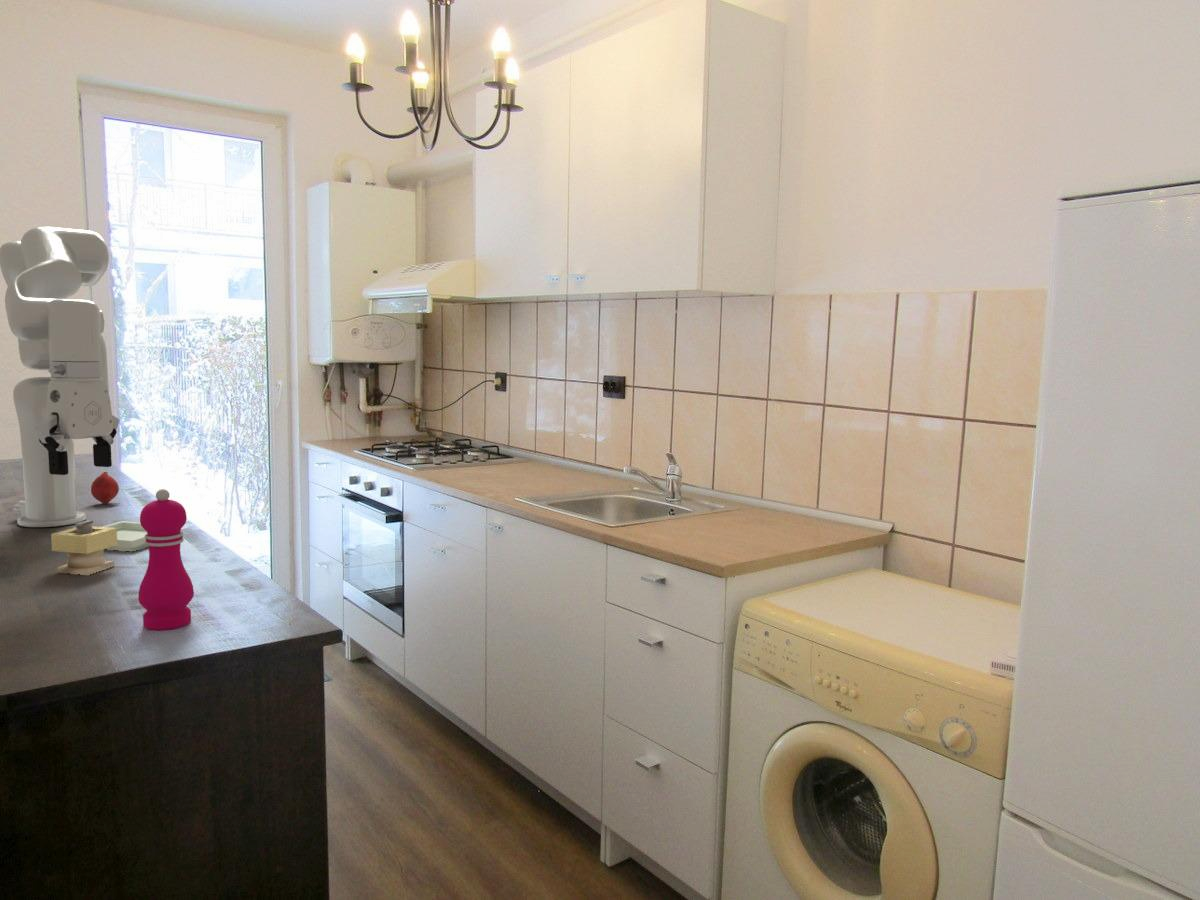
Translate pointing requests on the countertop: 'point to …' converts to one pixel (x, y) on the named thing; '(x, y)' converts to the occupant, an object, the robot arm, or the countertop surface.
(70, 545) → the ring
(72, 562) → the beige post on base
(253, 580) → the countertop surface
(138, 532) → the tray
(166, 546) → the pepper mill
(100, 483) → the onion
